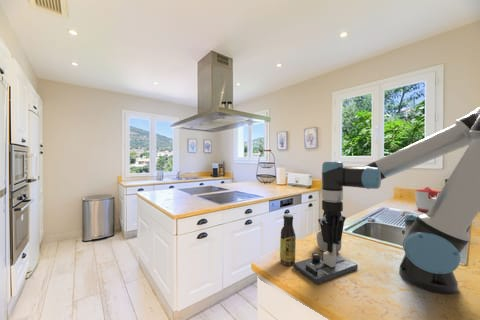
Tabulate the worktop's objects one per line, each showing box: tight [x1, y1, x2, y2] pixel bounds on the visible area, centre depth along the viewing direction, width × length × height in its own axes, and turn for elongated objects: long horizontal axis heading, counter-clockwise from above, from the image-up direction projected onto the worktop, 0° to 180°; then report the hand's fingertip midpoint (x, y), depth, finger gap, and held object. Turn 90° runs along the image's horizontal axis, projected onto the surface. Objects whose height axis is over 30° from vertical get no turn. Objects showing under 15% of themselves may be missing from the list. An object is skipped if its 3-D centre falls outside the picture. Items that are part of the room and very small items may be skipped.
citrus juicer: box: [414, 186, 441, 213], centre depth 164 cm, size 16×17×20 cm
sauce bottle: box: [279, 214, 297, 266], centre depth 85 cm, size 6×6×20 cm
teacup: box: [315, 230, 342, 254], centre depth 96 cm, size 14×11×8 cm
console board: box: [292, 250, 359, 286], centre depth 80 cm, size 12×22×4 cm, turn 116°
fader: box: [322, 252, 336, 267], centre depth 78 cm, size 4×2×4 cm, turn 26°
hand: (332, 259), depth 80 cm, fingers closed
